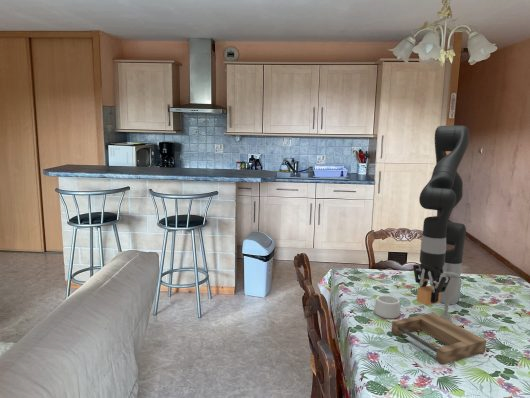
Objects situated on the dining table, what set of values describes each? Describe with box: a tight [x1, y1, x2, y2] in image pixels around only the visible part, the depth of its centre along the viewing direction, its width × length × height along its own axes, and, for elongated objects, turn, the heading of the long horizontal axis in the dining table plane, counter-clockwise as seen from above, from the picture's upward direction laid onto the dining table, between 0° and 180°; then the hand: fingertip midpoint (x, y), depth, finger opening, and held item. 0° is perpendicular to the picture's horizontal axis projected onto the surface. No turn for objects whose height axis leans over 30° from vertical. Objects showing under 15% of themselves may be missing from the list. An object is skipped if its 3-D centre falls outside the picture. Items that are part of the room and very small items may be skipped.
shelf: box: [390, 312, 487, 365], centre depth 139 cm, size 19×22×4 cm
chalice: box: [439, 272, 462, 323], centre depth 153 cm, size 7×7×18 cm
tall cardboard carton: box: [416, 285, 441, 306], centre depth 136 cm, size 6×4×4 cm, turn 114°
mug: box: [373, 294, 401, 320], centre depth 160 cm, size 12×10×6 cm
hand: (428, 299), depth 136 cm, fingers closed on tall cardboard carton, 4 cm apart
